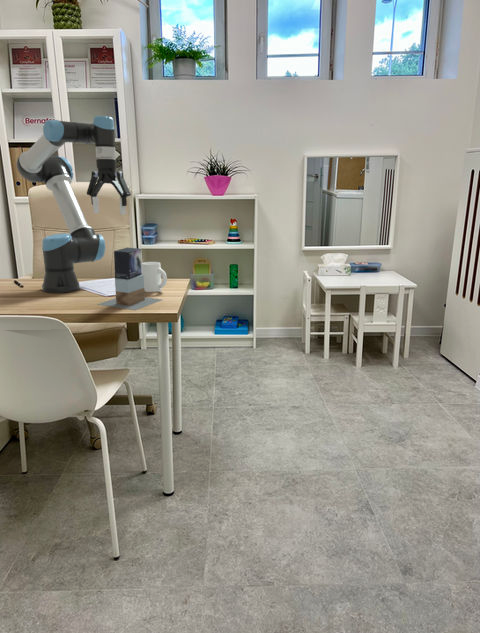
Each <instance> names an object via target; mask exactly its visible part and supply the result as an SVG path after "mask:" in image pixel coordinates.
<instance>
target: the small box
mask: <svg viewBox="0 0 480 633" xmlns="http://www.w3.org/2000/svg"><path fill="white" fill-rule="evenodd" d="M113 262H114V279H115V278H118V279H131V278H134V277H137V276H139V275H142V249H141V248H137V247H123V248H120V249H116V250H114V251H113Z"/></svg>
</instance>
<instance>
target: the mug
mask: <svg viewBox="0 0 480 633" xmlns="http://www.w3.org/2000/svg"><path fill="white" fill-rule="evenodd" d="M141 268H142V275H144V291H145V292H146V293H156V292H160V293H161V292H162V288H164V287H165V286H166V284H167V283H168V277H167V273H166V271H165V270H163V269H162V267H161V262H160V261H145V262H141Z"/></svg>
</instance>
